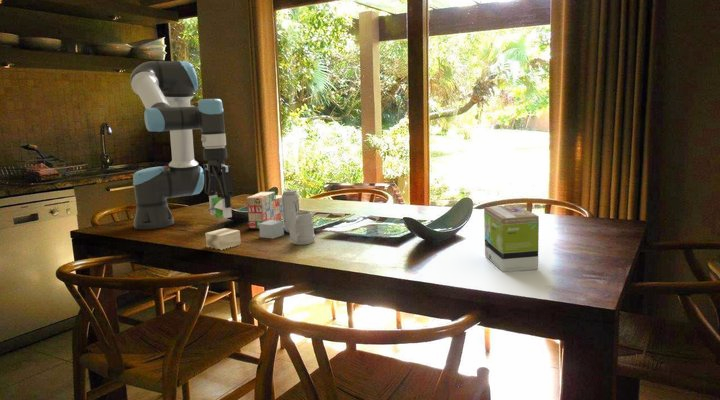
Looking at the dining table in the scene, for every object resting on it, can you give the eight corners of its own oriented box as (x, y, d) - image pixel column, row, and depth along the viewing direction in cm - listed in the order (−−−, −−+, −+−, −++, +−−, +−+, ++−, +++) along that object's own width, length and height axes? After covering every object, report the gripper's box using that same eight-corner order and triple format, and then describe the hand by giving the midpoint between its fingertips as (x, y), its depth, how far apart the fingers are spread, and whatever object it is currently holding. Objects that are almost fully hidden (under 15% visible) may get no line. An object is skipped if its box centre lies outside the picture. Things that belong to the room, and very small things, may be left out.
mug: (319, 239, 176) (317, 205, 174) (302, 248, 165) (299, 212, 163) (300, 238, 179) (297, 204, 177) (281, 247, 168) (279, 211, 166)
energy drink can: (296, 233, 187) (293, 192, 184) (281, 232, 188) (278, 192, 186) (303, 229, 192) (301, 189, 189) (288, 228, 194) (286, 189, 191)
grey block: (260, 237, 183) (259, 223, 182) (271, 233, 188) (270, 220, 187) (273, 239, 180) (272, 225, 179) (284, 234, 185) (283, 221, 184)
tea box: (483, 256, 148) (483, 206, 146) (517, 254, 149) (517, 204, 147) (501, 273, 134) (502, 217, 131) (539, 270, 134) (540, 214, 132)
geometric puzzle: (203, 210, 173) (208, 192, 168) (222, 206, 177) (227, 189, 173) (213, 225, 170) (218, 207, 165) (231, 221, 174) (237, 204, 169)
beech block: (206, 247, 173) (205, 233, 172) (226, 242, 179) (224, 228, 178) (221, 250, 168) (220, 235, 167) (241, 245, 174) (239, 230, 173)
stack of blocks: (273, 216, 218) (271, 187, 216) (287, 216, 216) (285, 187, 214) (249, 228, 198) (246, 196, 196) (263, 229, 196) (261, 197, 194)
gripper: (189, 147, 173) (196, 214, 177) (219, 149, 158) (226, 221, 162) (209, 145, 178) (216, 210, 182) (241, 146, 163) (247, 217, 167)
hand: (221, 215), depth 172 cm, fingers closed on geometric puzzle, 8 cm apart
